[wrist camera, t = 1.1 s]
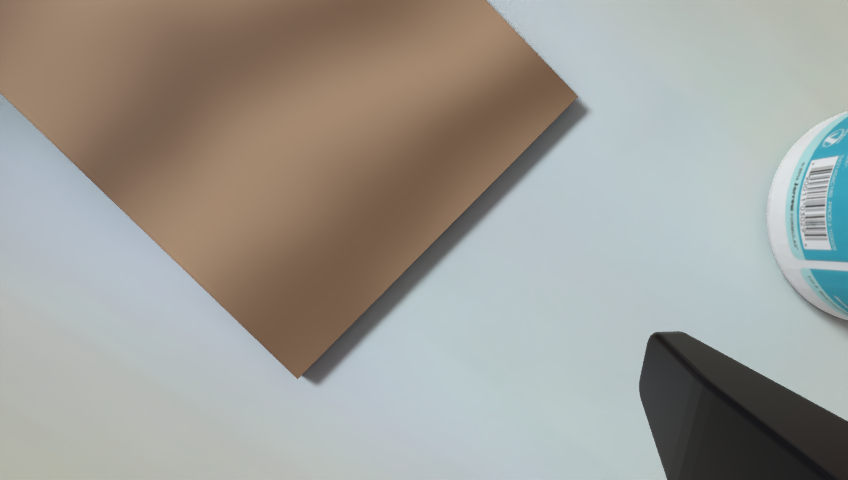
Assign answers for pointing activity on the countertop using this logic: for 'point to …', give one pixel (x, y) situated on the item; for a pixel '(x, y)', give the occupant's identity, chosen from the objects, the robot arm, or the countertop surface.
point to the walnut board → (282, 136)
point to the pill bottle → (814, 215)
